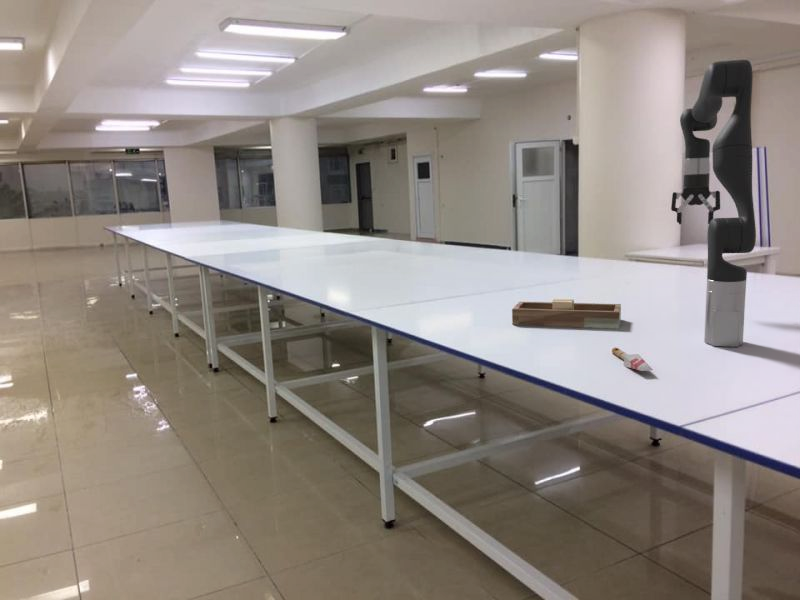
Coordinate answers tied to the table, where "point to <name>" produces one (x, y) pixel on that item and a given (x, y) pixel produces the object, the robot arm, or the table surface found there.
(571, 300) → the beech block
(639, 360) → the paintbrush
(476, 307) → the table surface
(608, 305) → the box
